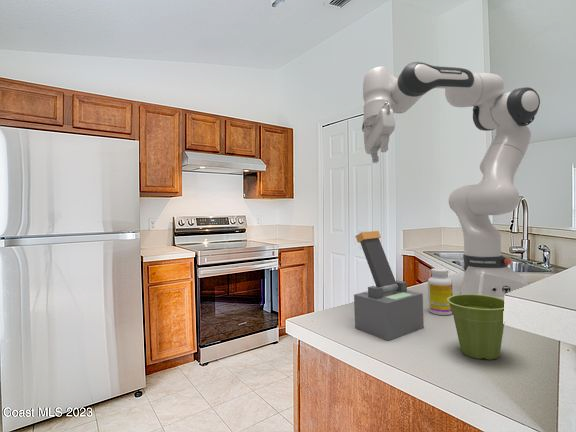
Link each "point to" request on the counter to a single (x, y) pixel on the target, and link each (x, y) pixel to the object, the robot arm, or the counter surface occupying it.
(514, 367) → the counter surface
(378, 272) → the lever
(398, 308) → the box
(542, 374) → the counter surface
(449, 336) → the counter surface
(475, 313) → the plant pot
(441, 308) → the supplement bottle
